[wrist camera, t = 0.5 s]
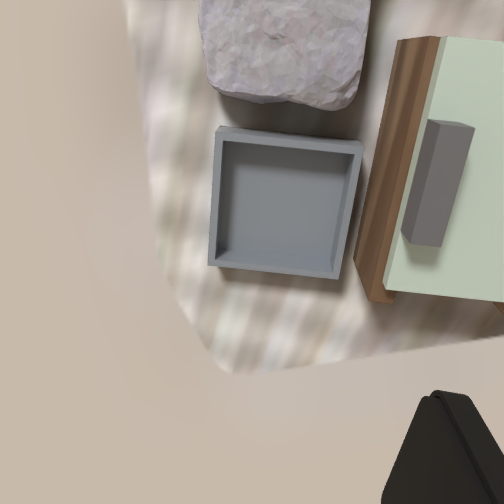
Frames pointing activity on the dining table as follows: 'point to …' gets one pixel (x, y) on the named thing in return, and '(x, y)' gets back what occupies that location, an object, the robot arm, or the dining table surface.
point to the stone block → (285, 49)
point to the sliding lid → (455, 181)
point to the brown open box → (394, 161)
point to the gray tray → (281, 201)
